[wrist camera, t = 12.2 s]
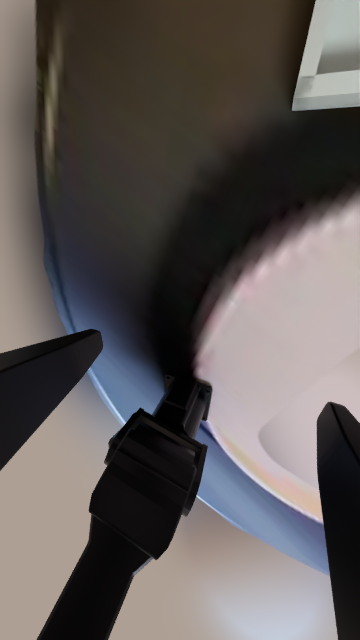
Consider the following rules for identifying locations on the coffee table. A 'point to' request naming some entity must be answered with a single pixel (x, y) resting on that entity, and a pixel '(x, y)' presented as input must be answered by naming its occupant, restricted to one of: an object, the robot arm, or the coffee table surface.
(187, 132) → the coffee table surface
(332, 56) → the tray
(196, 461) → the robot arm
